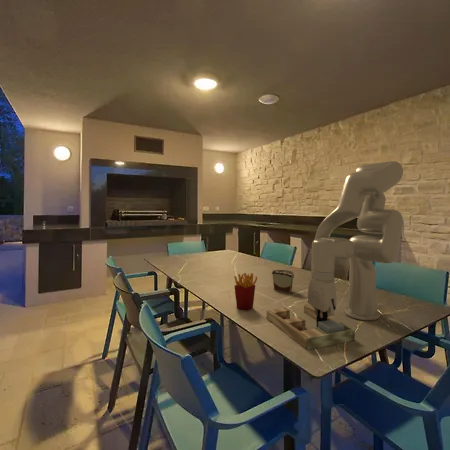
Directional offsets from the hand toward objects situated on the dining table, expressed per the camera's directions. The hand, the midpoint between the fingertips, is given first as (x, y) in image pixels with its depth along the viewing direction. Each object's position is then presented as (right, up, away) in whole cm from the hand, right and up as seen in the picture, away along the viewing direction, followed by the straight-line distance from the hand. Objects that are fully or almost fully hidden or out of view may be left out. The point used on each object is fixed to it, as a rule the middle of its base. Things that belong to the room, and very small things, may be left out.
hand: (321, 327), depth 98 cm
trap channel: (-5, -1, +2) cm, 5 cm away
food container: (-3, +2, +47) cm, 47 cm away
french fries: (-25, 0, +24) cm, 34 cm away
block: (+1, -2, -5) cm, 5 cm away
